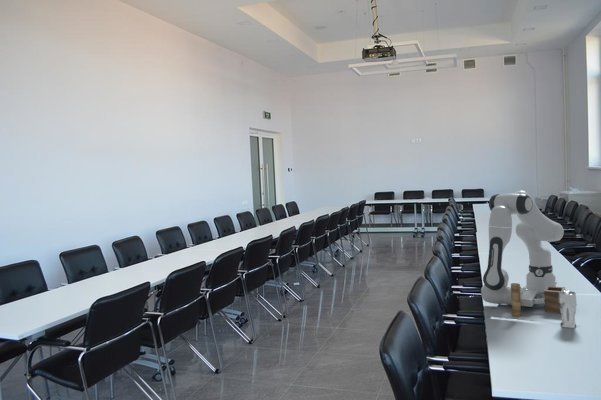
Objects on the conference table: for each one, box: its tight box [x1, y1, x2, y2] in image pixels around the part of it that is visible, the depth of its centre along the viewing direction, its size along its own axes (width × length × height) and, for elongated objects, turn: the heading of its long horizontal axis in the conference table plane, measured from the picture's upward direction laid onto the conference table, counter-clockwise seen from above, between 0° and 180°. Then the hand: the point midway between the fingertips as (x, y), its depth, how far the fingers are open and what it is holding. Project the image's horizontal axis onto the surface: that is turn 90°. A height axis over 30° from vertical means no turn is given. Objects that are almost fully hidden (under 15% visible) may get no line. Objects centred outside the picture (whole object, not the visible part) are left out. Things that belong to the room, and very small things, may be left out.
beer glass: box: [559, 290, 578, 329], centre depth 216 cm, size 7×7×15 cm
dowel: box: [510, 282, 522, 320], centre depth 232 cm, size 4×4×16 cm
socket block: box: [543, 286, 566, 314], centre depth 236 cm, size 10×8×10 cm
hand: (545, 298), depth 239 cm, fingers open, 8 cm apart
